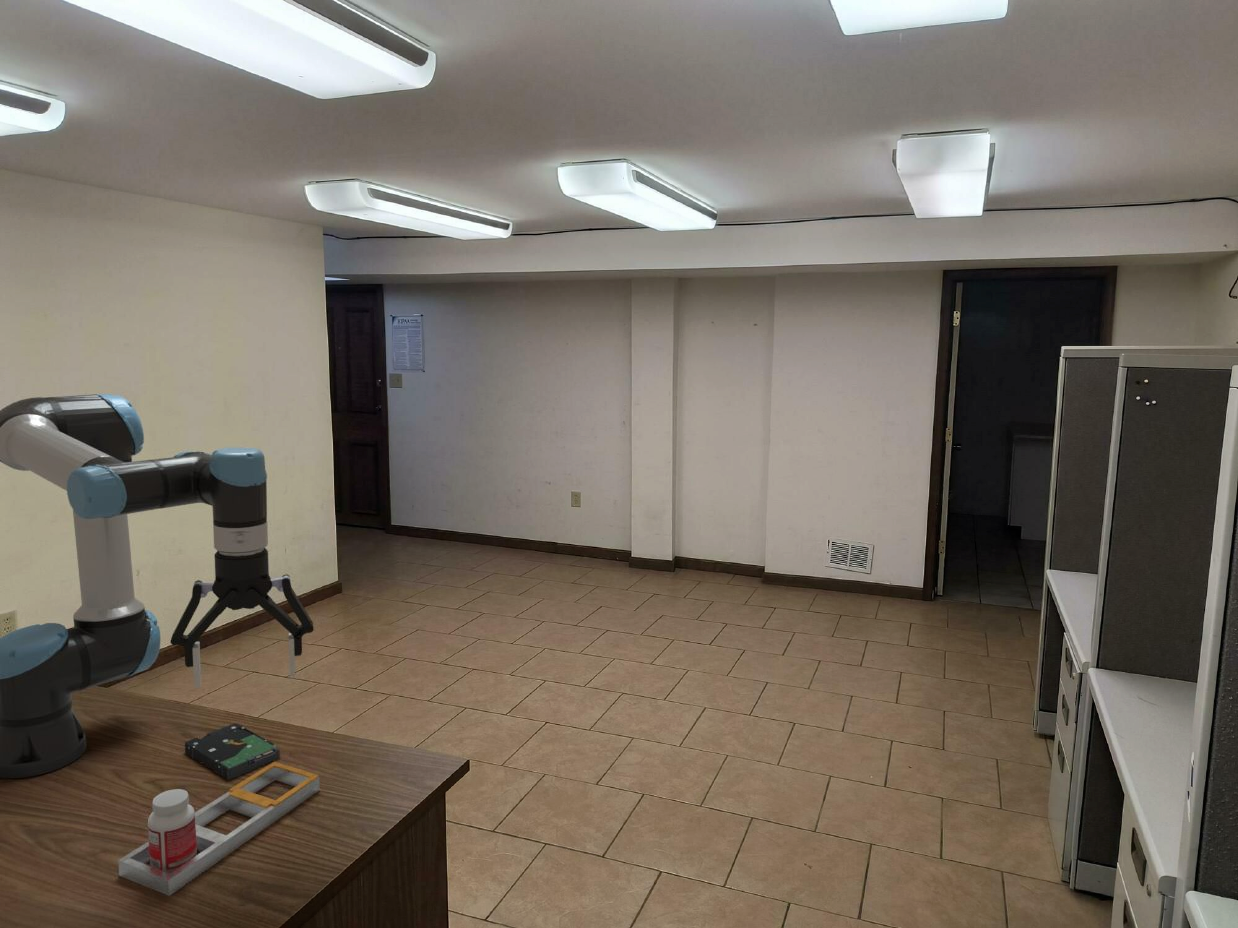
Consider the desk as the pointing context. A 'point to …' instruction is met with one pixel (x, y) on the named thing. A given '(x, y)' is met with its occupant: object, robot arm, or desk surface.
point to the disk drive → (232, 750)
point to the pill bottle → (171, 831)
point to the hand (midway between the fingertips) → (245, 679)
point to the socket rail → (222, 845)
